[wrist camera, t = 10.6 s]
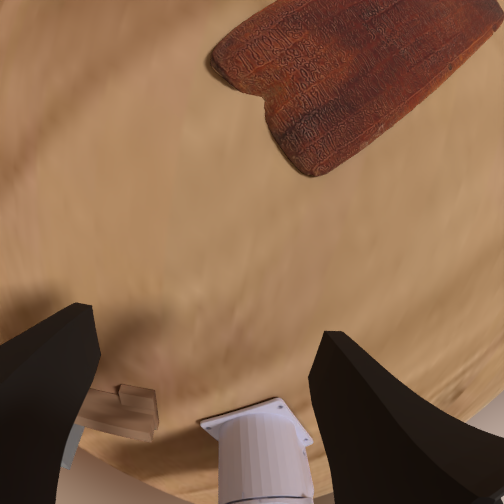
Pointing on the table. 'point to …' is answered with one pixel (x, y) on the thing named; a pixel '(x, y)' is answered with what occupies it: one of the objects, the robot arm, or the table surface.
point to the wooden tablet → (348, 67)
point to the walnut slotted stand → (121, 412)
